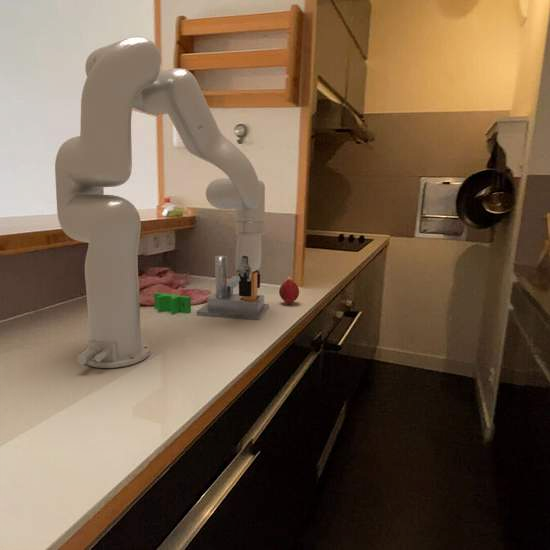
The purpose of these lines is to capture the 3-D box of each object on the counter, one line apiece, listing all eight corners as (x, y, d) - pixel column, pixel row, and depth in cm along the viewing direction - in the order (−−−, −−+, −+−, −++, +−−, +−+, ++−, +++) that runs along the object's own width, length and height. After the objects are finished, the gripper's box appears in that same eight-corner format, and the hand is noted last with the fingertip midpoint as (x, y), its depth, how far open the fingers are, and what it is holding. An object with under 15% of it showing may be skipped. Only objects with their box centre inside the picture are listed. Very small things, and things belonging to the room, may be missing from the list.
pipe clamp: (148, 311, 117) (147, 295, 116) (157, 308, 120) (156, 292, 120) (183, 316, 113) (182, 299, 112) (191, 312, 116) (190, 296, 115)
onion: (302, 303, 127) (303, 277, 125) (292, 307, 122) (292, 280, 120) (285, 300, 130) (286, 274, 128) (275, 304, 125) (275, 277, 124)
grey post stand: (258, 319, 110) (259, 262, 107) (196, 315, 114) (195, 259, 111) (275, 299, 131) (275, 250, 128) (221, 295, 134) (221, 248, 131)
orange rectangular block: (242, 309, 116) (242, 273, 114) (245, 306, 119) (245, 271, 117) (254, 310, 115) (254, 274, 113) (257, 307, 118) (257, 271, 116)
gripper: (244, 224, 121) (244, 283, 125) (226, 230, 105) (226, 298, 108) (270, 225, 120) (270, 285, 123) (256, 231, 103) (255, 300, 107)
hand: (249, 291), depth 116 cm, fingers open, 9 cm apart
